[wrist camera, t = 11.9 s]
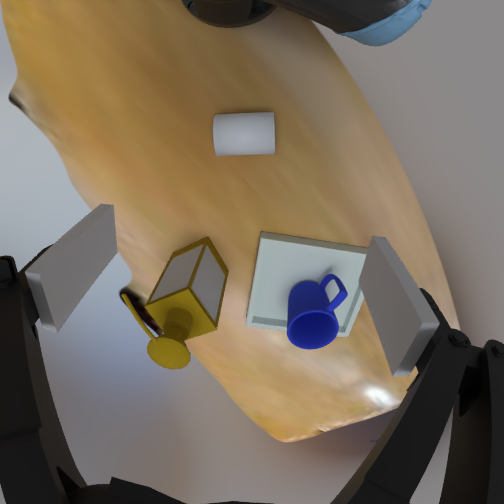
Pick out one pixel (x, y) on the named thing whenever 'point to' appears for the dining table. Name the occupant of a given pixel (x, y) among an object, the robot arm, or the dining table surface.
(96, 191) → the dining table surface
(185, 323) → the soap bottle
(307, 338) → the mug
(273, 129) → the white cylinder
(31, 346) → the robot arm
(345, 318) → the tray
